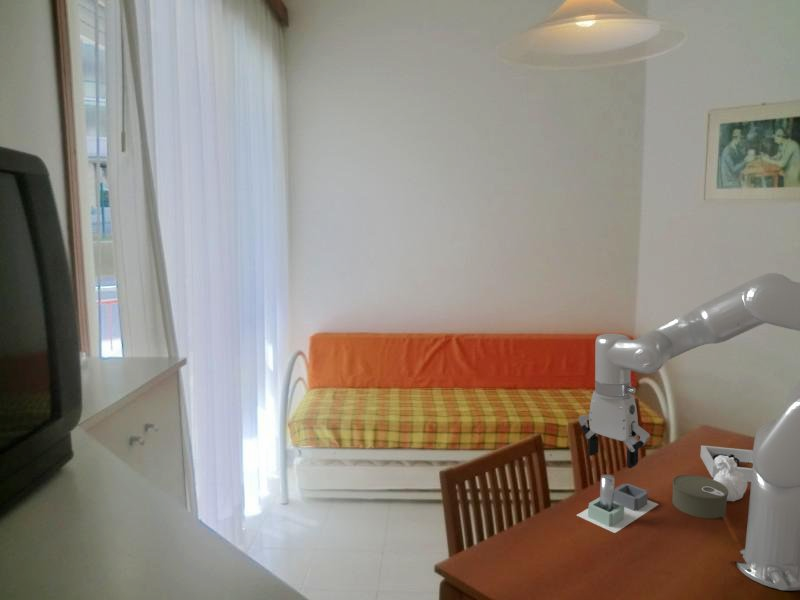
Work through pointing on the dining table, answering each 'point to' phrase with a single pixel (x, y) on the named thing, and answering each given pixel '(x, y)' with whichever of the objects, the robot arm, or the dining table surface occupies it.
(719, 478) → the bust
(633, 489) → the tool board
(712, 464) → the controller tray
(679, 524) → the dining table surface
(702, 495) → the can
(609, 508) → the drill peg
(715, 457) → the game controller
